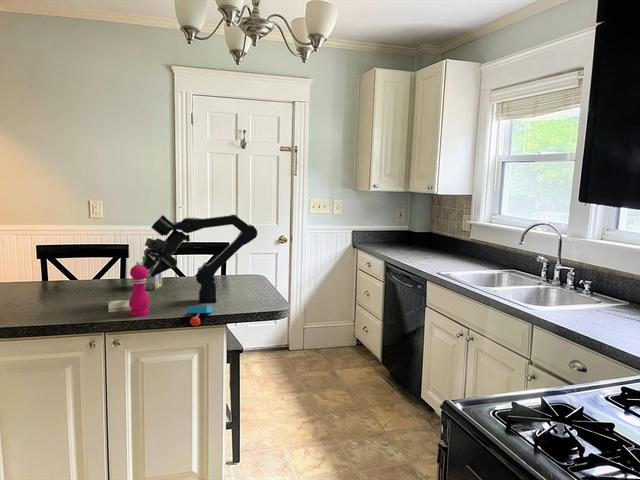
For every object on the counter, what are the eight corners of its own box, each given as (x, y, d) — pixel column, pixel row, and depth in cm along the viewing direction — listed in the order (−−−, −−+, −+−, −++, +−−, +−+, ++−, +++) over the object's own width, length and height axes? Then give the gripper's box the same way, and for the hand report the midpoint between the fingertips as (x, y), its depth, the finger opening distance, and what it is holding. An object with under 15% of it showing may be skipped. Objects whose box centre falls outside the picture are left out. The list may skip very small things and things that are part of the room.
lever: (193, 324, 178) (184, 326, 161) (193, 306, 179) (185, 306, 162) (211, 324, 179) (204, 326, 161) (212, 306, 180) (205, 306, 162)
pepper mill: (150, 316, 171) (149, 262, 169) (129, 317, 169) (127, 263, 166) (149, 310, 178) (148, 259, 175) (129, 312, 175) (127, 259, 173)
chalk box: (162, 286, 217) (162, 254, 215) (155, 290, 208) (154, 258, 206) (142, 285, 217) (142, 253, 215) (134, 290, 208) (134, 257, 206)
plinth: (135, 303, 187) (135, 299, 187) (137, 310, 178) (137, 306, 178) (108, 305, 183) (108, 301, 183) (108, 312, 174) (108, 308, 174)
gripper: (147, 228, 189) (121, 258, 183) (168, 232, 175) (140, 265, 169) (166, 245, 195) (141, 275, 189) (188, 251, 182) (162, 283, 176)
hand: (146, 274), depth 181 cm, fingers open, 9 cm apart
